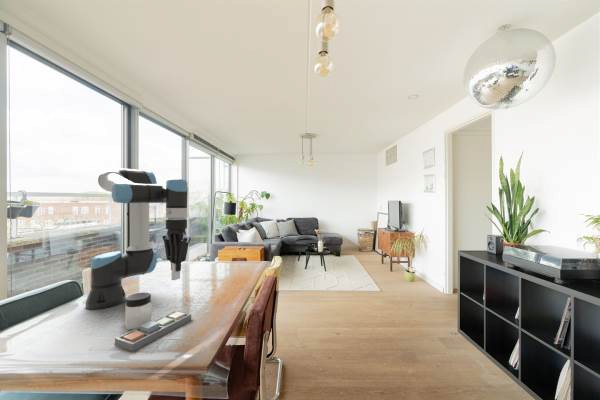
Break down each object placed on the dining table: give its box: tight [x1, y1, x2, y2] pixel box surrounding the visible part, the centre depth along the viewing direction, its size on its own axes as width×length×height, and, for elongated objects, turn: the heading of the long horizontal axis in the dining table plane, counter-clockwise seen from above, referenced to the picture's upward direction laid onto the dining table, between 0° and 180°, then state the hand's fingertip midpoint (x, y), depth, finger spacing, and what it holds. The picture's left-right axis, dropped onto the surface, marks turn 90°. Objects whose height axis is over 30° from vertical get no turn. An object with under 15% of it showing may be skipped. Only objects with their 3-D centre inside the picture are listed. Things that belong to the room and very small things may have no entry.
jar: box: [124, 292, 153, 330], centre depth 97 cm, size 9×8×12 cm
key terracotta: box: [123, 331, 144, 343], centre depth 84 cm, size 4×4×2 cm
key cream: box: [168, 311, 186, 320], centre depth 99 cm, size 4×4×2 cm
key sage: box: [156, 318, 173, 327], centre depth 94 cm, size 4×4×2 cm
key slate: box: [140, 320, 159, 334], centre depth 89 cm, size 4×4×2 cm
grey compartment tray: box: [112, 310, 194, 353], centre depth 91 cm, size 11×23×4 cm, turn 156°
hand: (175, 279), depth 99 cm, fingers closed
